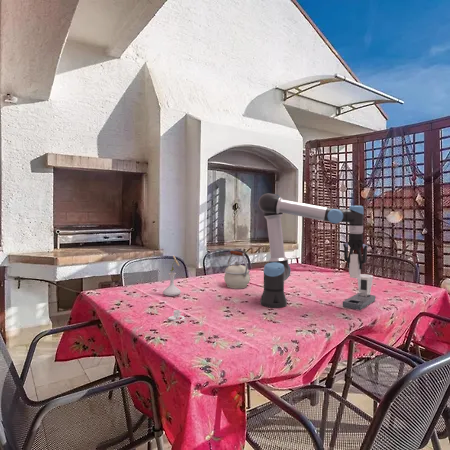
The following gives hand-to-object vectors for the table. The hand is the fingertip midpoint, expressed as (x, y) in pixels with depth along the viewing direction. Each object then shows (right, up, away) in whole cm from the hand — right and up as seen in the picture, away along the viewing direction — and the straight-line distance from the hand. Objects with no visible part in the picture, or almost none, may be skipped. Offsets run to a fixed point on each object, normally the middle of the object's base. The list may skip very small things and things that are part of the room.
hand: (354, 274), depth 189 cm
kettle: (-66, -16, +50) cm, 84 cm away
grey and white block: (+6, -18, +8) cm, 21 cm away
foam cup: (+16, -18, +26) cm, 36 cm away
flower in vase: (-107, -17, +25) cm, 111 cm away
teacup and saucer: (-101, -20, -20) cm, 104 cm away
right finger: (0, -2, 0) cm, 2 cm away
